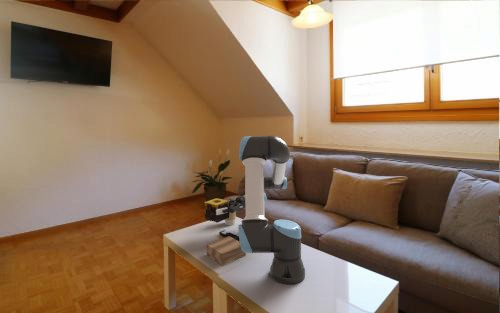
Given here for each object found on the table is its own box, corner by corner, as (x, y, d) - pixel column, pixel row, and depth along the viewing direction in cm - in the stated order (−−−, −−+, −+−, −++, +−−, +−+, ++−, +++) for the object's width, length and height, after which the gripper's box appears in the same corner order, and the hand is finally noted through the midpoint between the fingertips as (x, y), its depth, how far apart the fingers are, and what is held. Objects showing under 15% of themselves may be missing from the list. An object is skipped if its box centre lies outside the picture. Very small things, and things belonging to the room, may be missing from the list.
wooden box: (245, 256, 135) (245, 244, 134) (222, 266, 126) (222, 254, 125) (229, 246, 145) (228, 236, 145) (206, 255, 136) (206, 244, 136)
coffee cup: (240, 222, 179) (240, 200, 177) (231, 227, 170) (231, 204, 168) (228, 219, 184) (227, 198, 182) (219, 224, 176) (218, 202, 174)
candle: (217, 223, 144) (216, 205, 143) (204, 219, 150) (203, 202, 149) (230, 217, 152) (229, 200, 151) (217, 214, 158) (216, 197, 157)
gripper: (255, 213, 151) (222, 222, 139) (233, 203, 171) (202, 210, 159) (255, 200, 150) (221, 208, 138) (232, 191, 170) (201, 197, 158)
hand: (211, 209), depth 149 cm, fingers closed on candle, 12 cm apart
